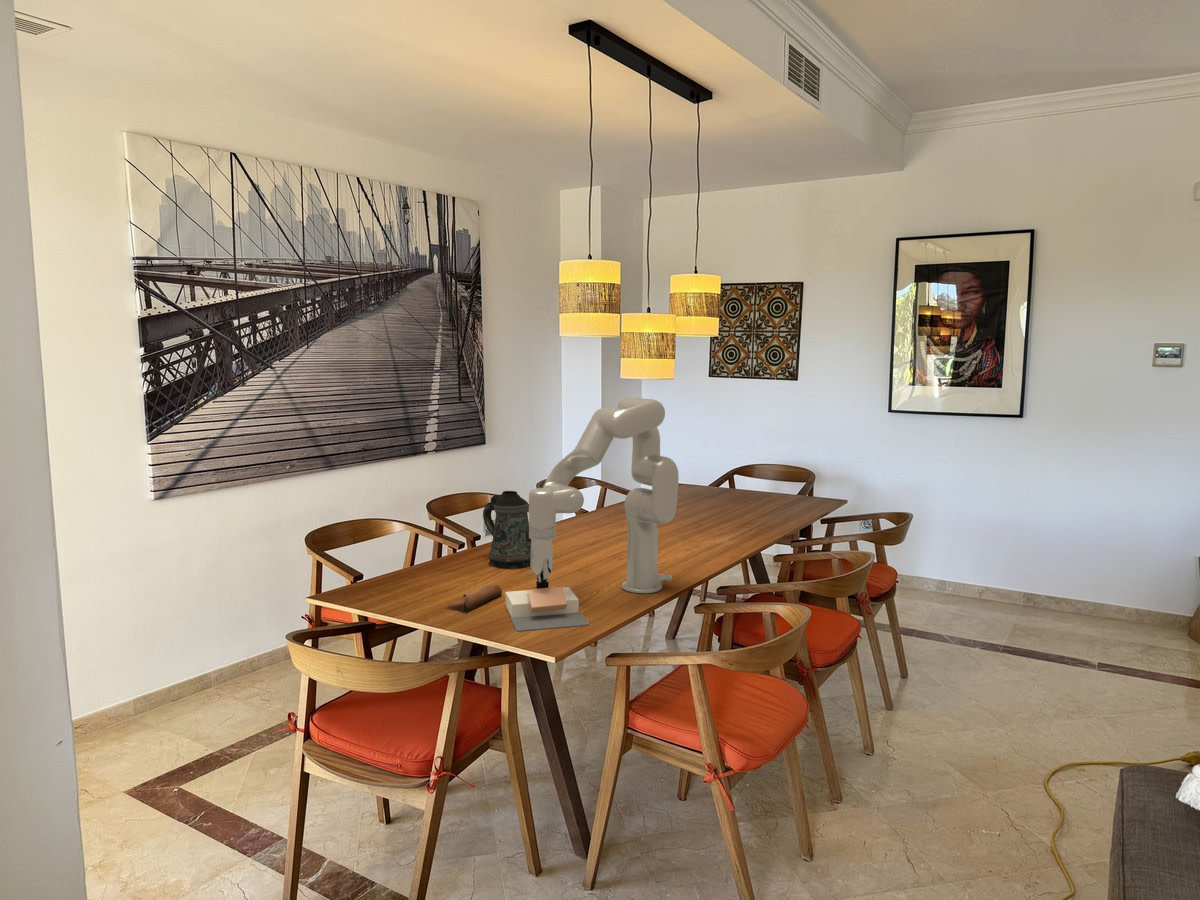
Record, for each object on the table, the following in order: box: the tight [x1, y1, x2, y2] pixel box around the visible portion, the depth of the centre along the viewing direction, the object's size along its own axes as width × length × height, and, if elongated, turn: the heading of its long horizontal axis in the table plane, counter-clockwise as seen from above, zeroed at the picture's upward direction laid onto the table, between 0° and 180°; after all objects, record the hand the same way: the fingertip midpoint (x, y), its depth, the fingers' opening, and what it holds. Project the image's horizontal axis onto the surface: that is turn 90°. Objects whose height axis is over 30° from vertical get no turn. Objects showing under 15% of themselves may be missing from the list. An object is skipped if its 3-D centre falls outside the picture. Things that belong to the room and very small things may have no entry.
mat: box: [510, 611, 591, 633], centre depth 223 cm, size 20×10×1 cm, turn 105°
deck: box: [505, 586, 580, 618], centre depth 234 cm, size 19×12×4 cm, turn 105°
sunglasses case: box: [444, 584, 503, 614], centre depth 239 cm, size 18×7×7 cm
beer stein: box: [482, 490, 531, 570], centre depth 281 cm, size 16×19×25 cm
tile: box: [527, 586, 567, 613], centre depth 227 cm, size 10×6×2 cm
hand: (542, 594), depth 232 cm, fingers closed
